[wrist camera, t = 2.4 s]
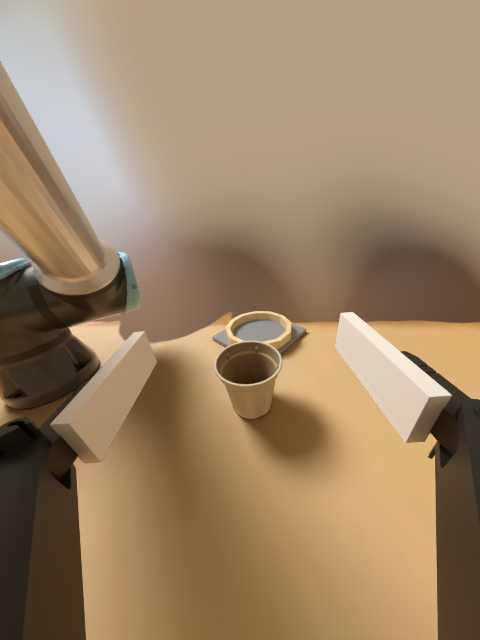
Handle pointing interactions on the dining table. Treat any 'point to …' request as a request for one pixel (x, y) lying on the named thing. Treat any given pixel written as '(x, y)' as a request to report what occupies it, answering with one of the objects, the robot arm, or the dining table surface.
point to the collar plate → (260, 330)
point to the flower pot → (249, 376)
